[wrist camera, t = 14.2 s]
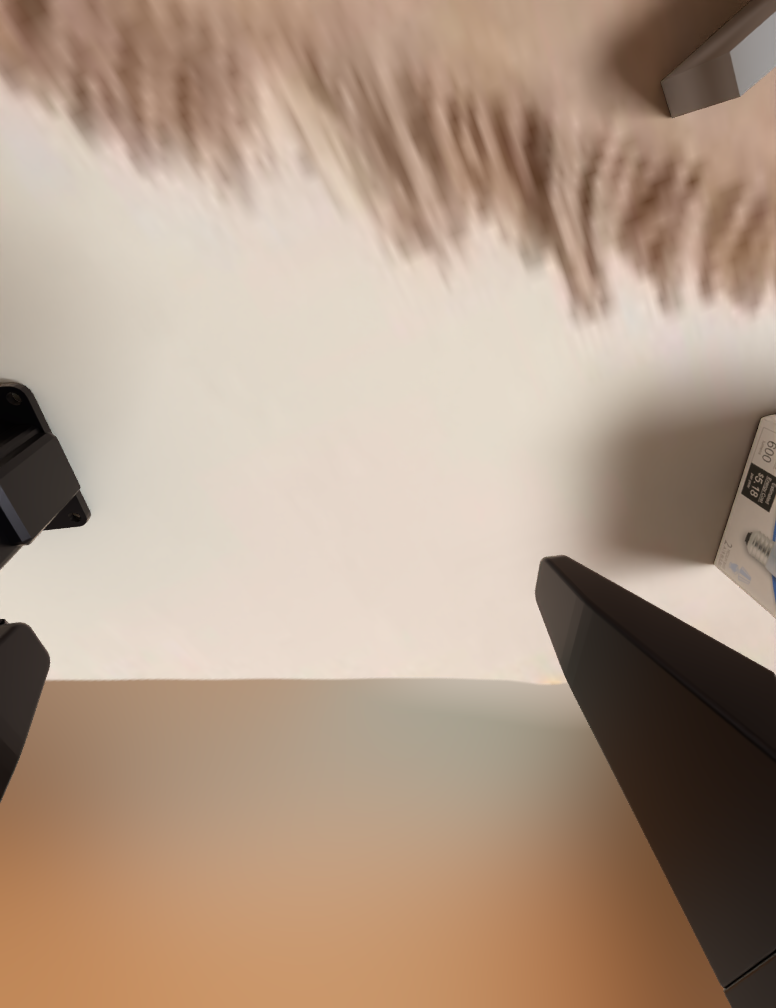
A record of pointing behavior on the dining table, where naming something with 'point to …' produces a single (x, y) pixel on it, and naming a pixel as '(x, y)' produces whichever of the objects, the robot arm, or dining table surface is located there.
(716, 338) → the dining table surface
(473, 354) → the dining table surface
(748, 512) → the light bulb box
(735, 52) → the nook
